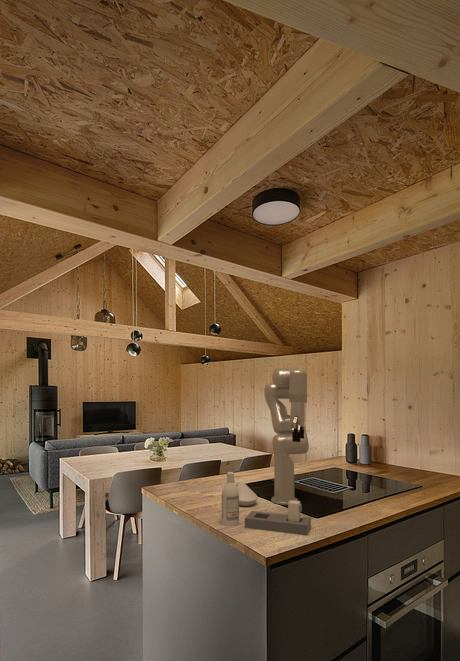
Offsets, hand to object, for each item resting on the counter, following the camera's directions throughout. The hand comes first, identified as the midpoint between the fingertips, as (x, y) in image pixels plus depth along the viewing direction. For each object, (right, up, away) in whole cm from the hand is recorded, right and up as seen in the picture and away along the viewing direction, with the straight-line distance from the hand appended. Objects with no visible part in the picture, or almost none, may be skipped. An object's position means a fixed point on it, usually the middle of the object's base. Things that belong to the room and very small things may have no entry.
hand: (298, 440), depth 175 cm
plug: (-4, -30, -16) cm, 34 cm away
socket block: (-10, -31, -14) cm, 35 cm away
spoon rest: (-23, -36, +24) cm, 49 cm away
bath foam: (-29, -31, -10) cm, 44 cm away
